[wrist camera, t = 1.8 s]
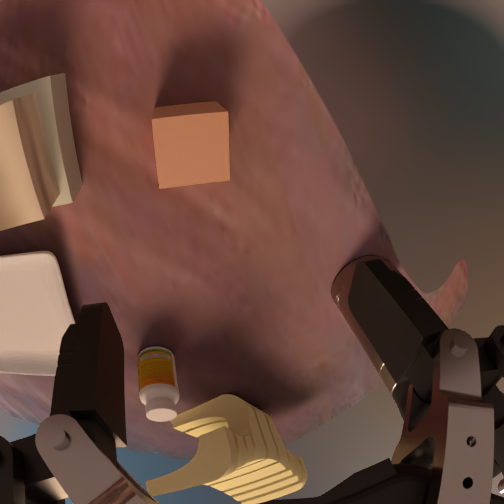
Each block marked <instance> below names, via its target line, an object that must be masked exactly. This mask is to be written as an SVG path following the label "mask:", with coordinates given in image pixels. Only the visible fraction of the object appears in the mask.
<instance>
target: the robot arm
mask: <svg viewBox="0 0 504 504" xmlns="http://www.w3.org/2000/svg"><path fill="white" fill-rule="evenodd" d="M331 294H332V298H333V300H334V302H335V303H336V305H337V307H338V308H339V309H340V311H341V313H342V314H343V316H344V318H345V319H346V321H347V323H348V324H349V326H350V327H351V329H352V331H353V332H354V334H355V335H356V337H357V339H358V340H359V342H360V344H361V345H362V347H363V348H364V350H365V352H366V353H367V355H368V357H369V358H370V360H371V362H372V363H373V365H374V367H375V368H376V370H377V372H378V373H379V375H380V376H381V378H382V380H383V382H384V383H385V385H386V387H387V388H388V390H389V391H390V393H391V395H392V396H393V398H394V400H395V402H396V404H397V405H398V408H399V411H400V413H401V416H402V418H403V420H404V424H403V430H402V435H401V439H400V441H399V443H398V445H397V447H396V449H395V451H394V454H393V457H392V461H390V459H389V458H388V459H386V460H384V461H382V462H379V463H377V464H375V465H373V466H370V467H368V468H366V469H363V470H361V471H359V472H356V473H354V474H353V475H351V476H350V477H349V478H347V479H346V480H344V481H343V482H341V483H340V484H338V485H337V486H335V487H334V488H332V489H331V490H329V491H328V492H326V493H325V494H323V495H321V496H319V497H314V498H302V499H286V500H270V501H266V502H262V503H258V504H504V497H501V496H498V495H495V494H492V493H491V488H492V479H493V478H494V477H495V476H497V475H498V474H499V473H501V472H502V474H503V476H504V394H503V393H502V392H501V391H499V389H498V388H497V386H496V384H497V382H498V381H499V380H500V379H501V378H502V377H504V325H501V326H497V327H496V328H495V329H494V330H493V332H492V333H491V335H490V336H489V337H487V338H475V339H473V338H472V337H471V336H470V335H469V334H468V333H467V332H465V331H462V330H460V329H456V328H451V329H448V327H447V326H446V325H445V324H444V323H443V321H442V320H441V319H440V318H439V316H438V315H437V314H436V313H435V312H434V310H433V309H432V308H431V307H430V306H429V305H428V303H427V302H426V301H425V300H424V299H423V298H422V296H421V295H420V294H419V293H418V292H417V290H415V289H414V287H413V286H412V285H411V284H410V282H409V281H408V280H407V279H406V278H405V277H404V276H403V275H402V274H401V273H400V272H399V270H398V269H397V268H396V267H395V266H394V265H393V264H392V263H391V262H390V261H389V260H386V261H384V260H382V259H381V258H379V257H377V256H364V257H361V258H359V259H356V260H355V261H353V262H351V263H350V264H348V265H347V266H346V267H345V268H344V269H343V270H342V271H341V272H340V273H339V274H338V276H337V277H336V279H335V281H334V283H333V286H332V291H331ZM59 353H60V355H59V356H58V362H57V365H58V367H57V368H56V374H55V381H54V389H53V397H52V406H51V413H50V416H49V417H48V418H46V419H45V420H44V421H43V422H42V423H41V424H40V425H39V427H38V429H37V432H36V434H34V435H32V436H29V437H26V438H23V439H19V440H16V441H13V442H8V441H7V440H6V439H5V438H3V437H2V436H0V504H65V498H67V497H69V498H70V499H71V500H72V502H73V503H74V504H160V503H159V502H158V501H157V500H155V499H154V498H153V497H152V496H151V495H150V494H149V493H148V492H147V491H146V490H145V489H144V488H143V487H142V486H141V485H140V484H139V483H138V482H137V481H136V480H135V479H134V478H133V477H132V476H131V475H130V474H129V473H128V472H127V471H126V470H125V469H124V468H123V467H122V465H121V464H120V463H119V462H118V461H117V456H116V447H127V439H126V423H125V398H124V347H123V342H122V338H121V335H120V333H119V330H118V328H117V326H116V323H115V321H114V318H113V316H112V313H111V311H110V308H109V306H108V304H107V303H106V302H104V303H96V304H89V305H83V306H82V308H81V313H80V318H79V323H76V324H70V325H69V327H68V328H67V330H66V332H65V333H64V335H63V336H62V339H61V344H60V350H59ZM498 490H499V492H500V493H502V494H504V479H503V480H501V481H500V483H499V485H498Z"/></svg>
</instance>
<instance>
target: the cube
mask: <svg viewBox="0 0 504 504" xmlns="http://www.w3.org/2000/svg"><path fill="white" fill-rule="evenodd" d="M152 127H153V138H154V147H155V157H156V165H157V174H158V182H159V189H163V188H170V187H178V186H185V185H193V184H202V183H210V182H219V181H229V180H230V167H229V121H228V111H227V110H226V109H225V108H223V107H222V106H221V105H220V104H219V103H218V102H216V101H213V102H200V103H189V104H179V105H170V106H162V107H154V112H153V116H152Z"/></svg>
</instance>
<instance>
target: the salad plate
mask: <svg viewBox="0 0 504 504" xmlns="http://www.w3.org/2000/svg"><path fill="white" fill-rule="evenodd" d="M70 324H76V323H75V320H74V317H73V314H72V311H71V308H70V305H69V301H68V298H67V294H66V290H65V287H64V283H63V279H62V275H61V271H60V267H59V264H58V261H57V258H56V257H55V255H54V254H53V253H52V252H49V251H36V252H28V253H20V254H12V255H2V256H0V373H11V374H26V375H45V376H55V374H56V368H57V367H58V365H57V362H58V356H59V355H60V353H59V350H60V344H61V339H62V336H63V335H64V333H65V332H66V330H67V328H68V327H69V325H70Z"/></svg>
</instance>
